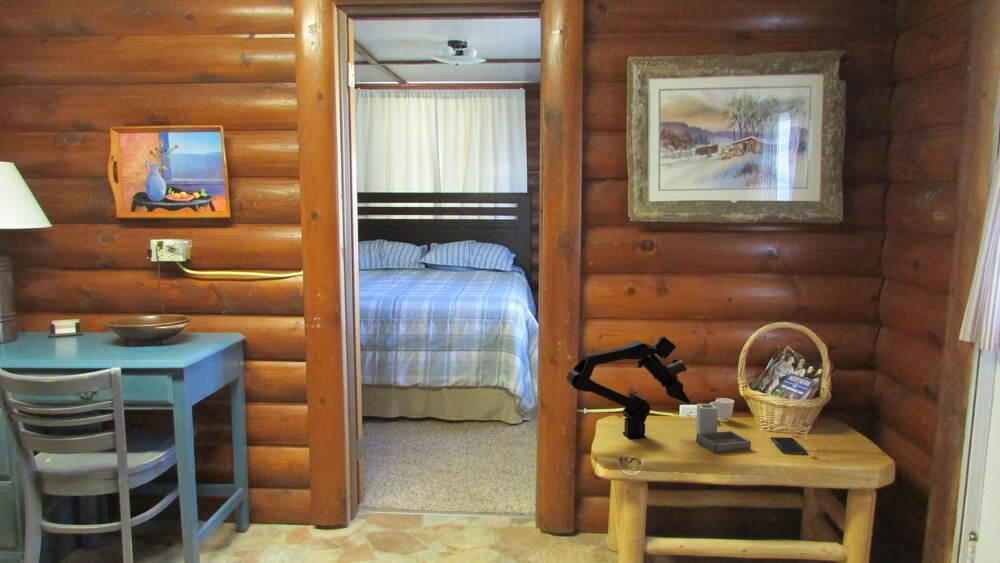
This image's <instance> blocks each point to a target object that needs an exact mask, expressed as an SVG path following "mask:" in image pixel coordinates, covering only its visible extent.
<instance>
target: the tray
mask: <svg viewBox="0 0 1000 563" xmlns="http://www.w3.org/2000/svg"><path fill="white" fill-rule="evenodd" d="M695 441H696V443H697V444H699V445H700V446H702V447H704V448H705V449H707V450H709V451H710V452H712V453H713V454H722V453H732V452H743V451H750V450H752V448H751V447H752V441H750V440H749V439H747V438H745V437H743V436H741V435H739V434H737V433H735V432H734V431H732V430H729V431H727V430H726V431H717V432H715V433H705V434H697V433H696V440H695Z"/></svg>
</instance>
